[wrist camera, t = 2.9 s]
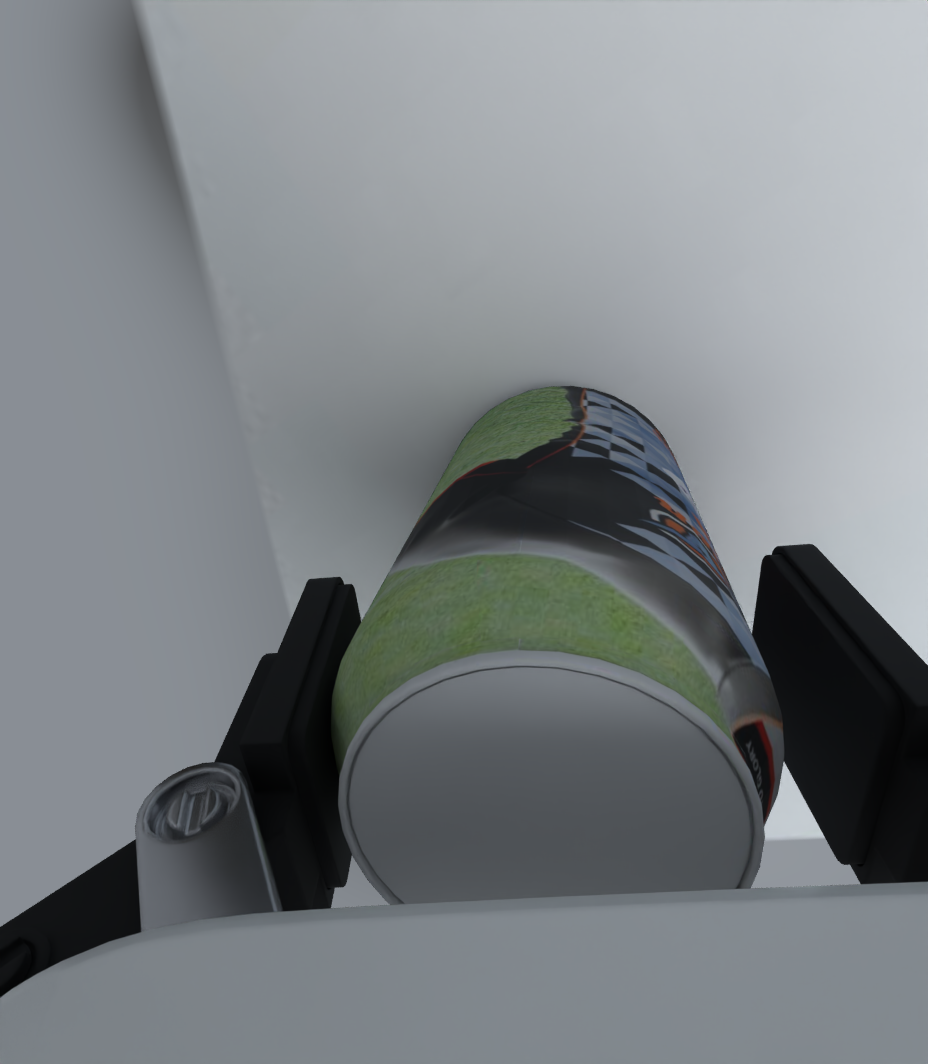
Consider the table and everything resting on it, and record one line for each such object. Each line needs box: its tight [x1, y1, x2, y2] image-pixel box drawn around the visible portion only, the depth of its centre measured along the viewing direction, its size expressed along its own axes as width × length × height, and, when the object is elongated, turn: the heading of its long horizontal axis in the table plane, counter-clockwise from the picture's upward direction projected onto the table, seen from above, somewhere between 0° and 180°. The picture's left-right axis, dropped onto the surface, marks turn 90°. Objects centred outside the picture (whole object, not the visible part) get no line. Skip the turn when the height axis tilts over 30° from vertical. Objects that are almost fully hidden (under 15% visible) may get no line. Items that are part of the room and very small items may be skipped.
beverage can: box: [331, 386, 785, 905], centre depth 13 cm, size 6×7×12 cm
